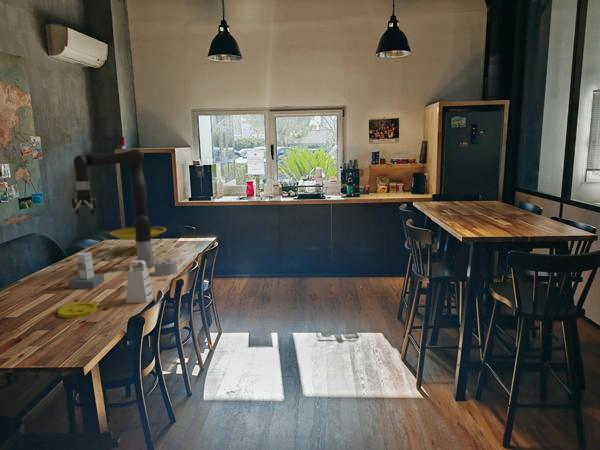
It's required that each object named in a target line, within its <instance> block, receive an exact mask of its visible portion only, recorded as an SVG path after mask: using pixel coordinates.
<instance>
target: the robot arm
mask: <svg viewBox="0 0 600 450" xmlns="http://www.w3.org/2000/svg"><path fill="white" fill-rule="evenodd" d="M144 157H145V156H144V153H143V152H142V151H141V150H140V149H137V148H132V149H131V150H128V151H123V152H116V153H115V152H114V153H113V152H112V153H110V152H106V153H105V152H103V153H93V154H81V155H76V156H74V159H73V165H74V167H73V168H74V171H75V189H76V197H77V198H75V197H74V198H72V199H71V206H72V207H71V208H72V209H74V210H75V213H76V215H77V216H80V215H81V209H80V207H83V206H88V207H89V208H90V214H91V216H94V215H95V214H96V213H95V211H96V210H95V209H96V208H98V201H97V200H98V199H97V198H96V197H94V198H92V196H91V186H90V185H91V184H90V179H89V173H88V167H92V166H95V167H98V166H107V165H113V164H115V165H116V164H129V168H130V193H131V197H132V199H131V200H132V203H133V207H134V221H133V222H134V223H133V224H134V227H135V230H134V232H135V231H136V241H135V248H137V253H136V257H137V259H136V260H144V261H145V262H146V268H148V269H149V268H152V267H154V263H155V260H154V259H155V258H154V251H153V250H152V249H153V248H152V238H151V230H152V228H151V221H150V219H149V216H148V210H147V204H148V203H147V201H148V191H147V183H146V178H145V175H144V170H143V169H144V168H143V163H144V162H143V161H144V159H145V158H144ZM92 202H93V203H92ZM137 268H143V263H142V262H137Z"/></svg>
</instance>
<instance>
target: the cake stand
mask: <svg viewBox="0 0 600 450" xmlns="http://www.w3.org/2000/svg"><path fill="white" fill-rule="evenodd" d="M150 226H151V225H150ZM166 231H167V228H166V227H163V226H151V239H152V238H156V237H158V236H160V235H161V234H163V233H165V232H166ZM109 235H110V236H113V237H115V238H117V239H120V240H129V241H130V240H133V241H134V242H136V231H135V226H132V227H131V226H130V227H125V228H119V229H115V230H112V231H110V232H109ZM130 253H132V254H137V248H136V247H134V248H133V249H131V250H130Z"/></svg>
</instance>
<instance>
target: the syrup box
mask: <svg viewBox="0 0 600 450" xmlns="http://www.w3.org/2000/svg"><path fill="white" fill-rule="evenodd" d="M76 260H77V269H78V275H79V279H90V278H92V277H94V274H95V272H94V266H93V254H92V252H89V251H82V252H79V253H76Z"/></svg>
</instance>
